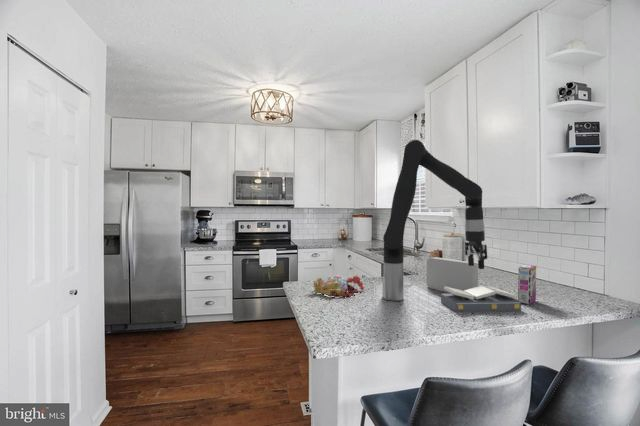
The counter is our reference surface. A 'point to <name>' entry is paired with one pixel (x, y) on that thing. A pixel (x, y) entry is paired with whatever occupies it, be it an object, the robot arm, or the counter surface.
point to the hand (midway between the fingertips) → (476, 267)
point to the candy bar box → (527, 284)
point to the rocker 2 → (480, 292)
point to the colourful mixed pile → (337, 286)
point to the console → (481, 303)
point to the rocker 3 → (502, 292)
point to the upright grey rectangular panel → (451, 274)
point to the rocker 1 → (458, 292)
